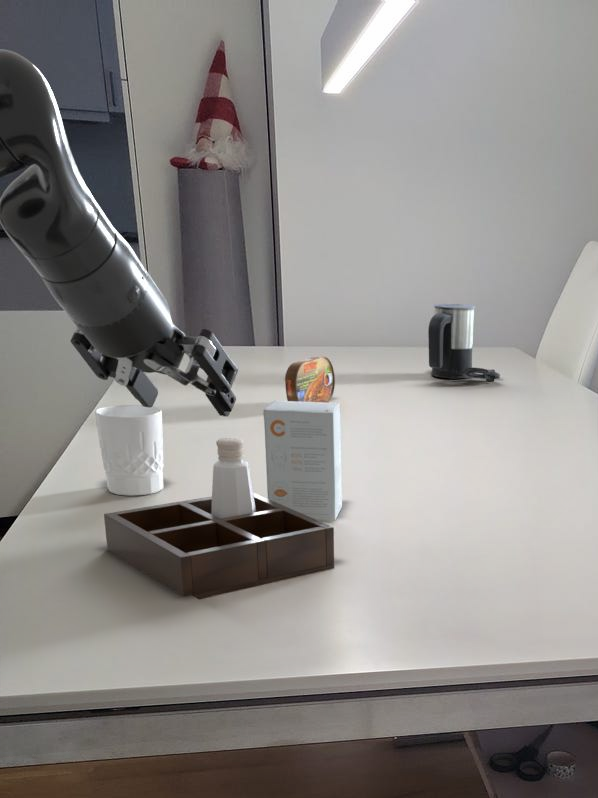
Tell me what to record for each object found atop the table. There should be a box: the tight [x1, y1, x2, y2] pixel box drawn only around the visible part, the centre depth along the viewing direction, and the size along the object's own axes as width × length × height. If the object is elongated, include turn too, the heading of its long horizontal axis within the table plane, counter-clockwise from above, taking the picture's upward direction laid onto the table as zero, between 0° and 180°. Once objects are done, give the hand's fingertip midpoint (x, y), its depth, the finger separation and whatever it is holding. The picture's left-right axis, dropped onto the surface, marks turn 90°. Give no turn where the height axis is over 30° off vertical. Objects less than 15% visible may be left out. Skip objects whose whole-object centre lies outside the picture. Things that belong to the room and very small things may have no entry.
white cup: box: [94, 404, 164, 497], centre depth 130 cm, size 8×8×10 cm
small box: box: [262, 400, 343, 522], centre depth 123 cm, size 8×6×13 cm
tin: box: [284, 356, 336, 403], centre depth 186 cm, size 15×3×8 cm, turn 161°
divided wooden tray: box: [103, 492, 335, 600], centre depth 107 cm, size 17×17×4 cm
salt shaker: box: [211, 436, 256, 519], centre depth 111 cm, size 5×5×11 cm
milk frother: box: [427, 303, 501, 383], centre depth 220 cm, size 14×16×15 cm
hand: (189, 404), depth 101 cm, fingers open, 8 cm apart
